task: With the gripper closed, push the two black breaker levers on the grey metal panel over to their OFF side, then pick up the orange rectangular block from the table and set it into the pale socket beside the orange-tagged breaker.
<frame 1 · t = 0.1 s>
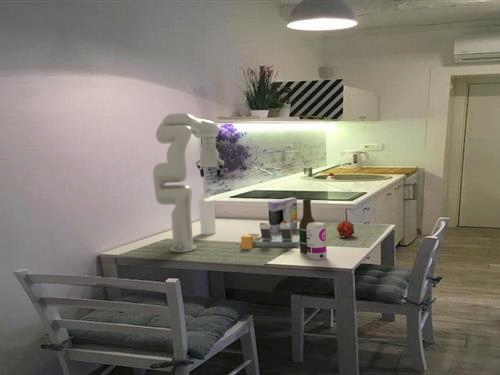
hand: (210, 176, 267), 31 cm above the table, tool pointing down, fingers open, 9 cm apart
beer bottle: (308, 252, 212), on the table
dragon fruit: (345, 237, 239), on the table
orange rectangular block: (247, 248, 224), on the table
breaker a: (286, 231, 225), point 7 cm above the table, hinge at -30.0°
supplement can: (317, 258, 201), on the table
breaker panel: (272, 243, 231), on the table
breaker b: (265, 231, 227), point 7 cm above the table, hinge at -30.0°
cake pan box: (283, 231, 260), on the table
milk: (208, 233, 262), on the table
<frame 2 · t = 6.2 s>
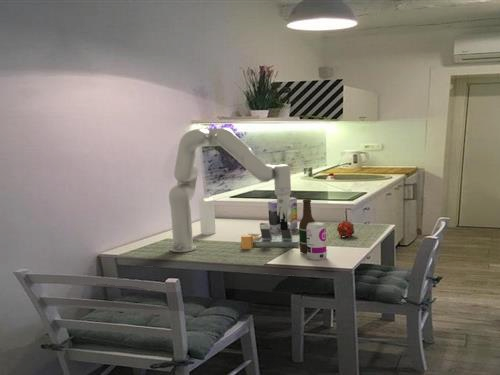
hand: (284, 229, 220), 9 cm above the table, tool pointing down, fingers closed
breaker a: (286, 231, 225), point 7 cm above the table, hinge at -26.2°, touching gripper
everything else where it was.
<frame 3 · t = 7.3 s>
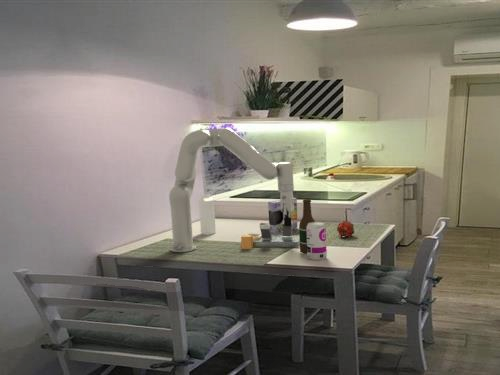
hand: (287, 225, 226), 9 cm above the table, tool pointing down, fingers closed
breaker a: (287, 229, 228), point 7 cm above the table, hinge at 20.0°, touching gripper
everything else where it was.
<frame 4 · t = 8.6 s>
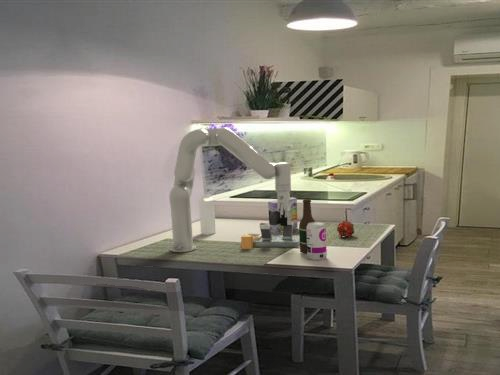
hand: (283, 225, 228), 9 cm above the table, tool pointing down, fingers closed
breaker a: (287, 230, 229), point 6 cm above the table, hinge at 38.8°
everything else where it was.
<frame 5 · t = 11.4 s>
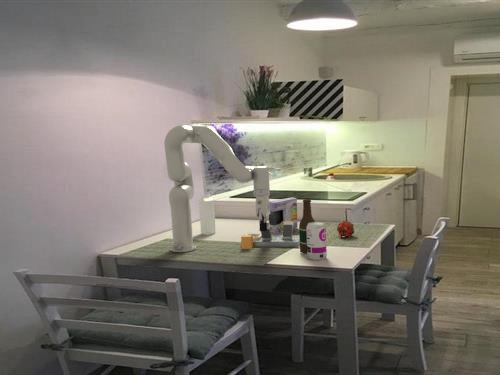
hand: (263, 230, 222), 8 cm above the table, tool pointing down, fingers closed
breaker b: (265, 231, 227), point 7 cm above the table, hinge at -29.8°, touching gripper
everything else where it was.
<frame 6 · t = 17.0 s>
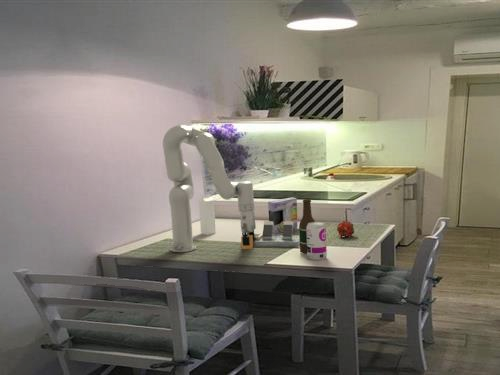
hand: (248, 242, 224), 3 cm above the table, tool pointing down, fingers open, 9 cm apart
breaker b: (267, 230, 232), point 6 cm above the table, hinge at 40.1°
everything else where it was.
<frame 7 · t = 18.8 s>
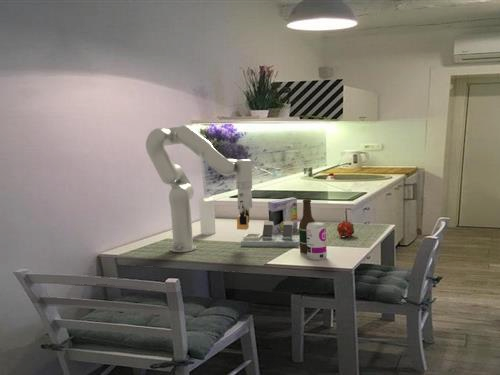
hand: (244, 223, 223), 12 cm above the table, tool pointing down, fingers closed on orange rectangular block, 4 cm apart
orange rectangular block: (242, 228, 224), point 10 cm above the table, touching gripper
everything else where it was.
when the fingers open (5 cm above the table, at t = 22.1 s): orange rectangular block stays where it is, resting on breaker panel.
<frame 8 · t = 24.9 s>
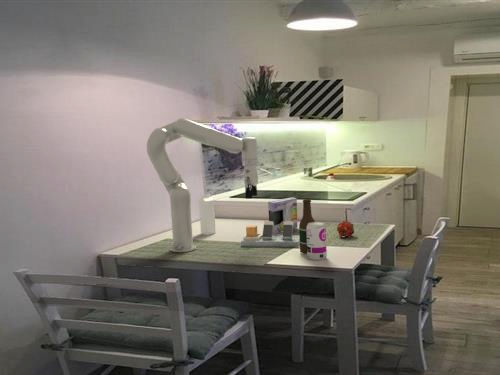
hand: (251, 197, 231), 23 cm above the table, tool pointing down, fingers open, 9 cm apart
orange rectangular block: (252, 238, 234), point 2 cm above the table, touching breaker panel
everything else where it was.
at the end: breaker a at +39° (first picture: -30°); breaker b at +40° (first picture: -30°); orange rectangular block 0.7 cm from the target spot on the breaker panel, point 2.5 cm above the breaker panel's base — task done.
